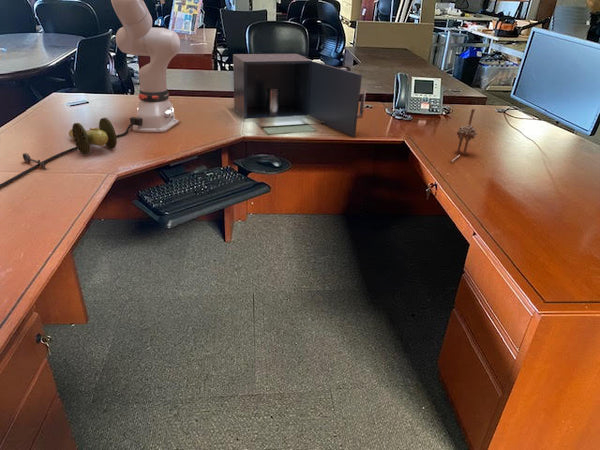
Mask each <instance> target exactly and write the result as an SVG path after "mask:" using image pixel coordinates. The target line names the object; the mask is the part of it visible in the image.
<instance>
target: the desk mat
mask: <svg viewBox="0 0 600 450" xmlns="http://www.w3.org/2000/svg"><path fill="white" fill-rule="evenodd" d="M261 129H262V130H263V131H264V132H265V133H266V134H267V135H268V136H269V135H282V134H283V135H285V134H293V133H294V134H295V133H308V132H316V130H317V129H314V128H313V127H312V126H310V124H308V123H298V124H296V123H295V124H282V125H281V124H280V125H266V126H265V125H263V126H261Z"/></svg>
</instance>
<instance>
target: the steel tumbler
mask: <svg viewBox="0 0 600 450" xmlns="http://www.w3.org/2000/svg"><path fill="white" fill-rule="evenodd" d="M279 101H280V88H279V87H274V86H271V87H267V113H268V114H272V115H276V114H279Z"/></svg>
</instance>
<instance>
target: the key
mask: <svg viewBox="0 0 600 450" xmlns="http://www.w3.org/2000/svg"><path fill="white" fill-rule="evenodd" d="M22 158H23V161H24V162H25V163H28V164H29V163H31V162H34V163H36V164H40V165H41V166H40V168H41V169H42V170H46V163H45V164H44V163H43V161H44V160H40V159H38V160H36V159H33V158H31V155H30V154H29V153H26V152H23V153H22Z"/></svg>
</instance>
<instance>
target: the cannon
mask: <svg viewBox="0 0 600 450" xmlns="http://www.w3.org/2000/svg"><path fill="white" fill-rule="evenodd" d="M116 135H117V133H116V130H115V127H114V125H113V123H112V121H111V120H109V118H107V117H102V118H100V120H99V122H98V127H89V129H85V128H84V126H83V125H82V124H81V123H79V122H74V123H73V124H72V126H71V129H70V130H69V131H68V136H69V138H70V139H72V140H73V141H74V144H75V147H77V148H78V149H77V150H78V151H79V152H80V154H81V155H84V156H86V155H89V154H90V152H91V145H93V146H98V147H103V146H106V147H107V148H108V149H110V150H111V149H115V148H116V147H117V144H118V137H116ZM90 144H91V145H90Z"/></svg>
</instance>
